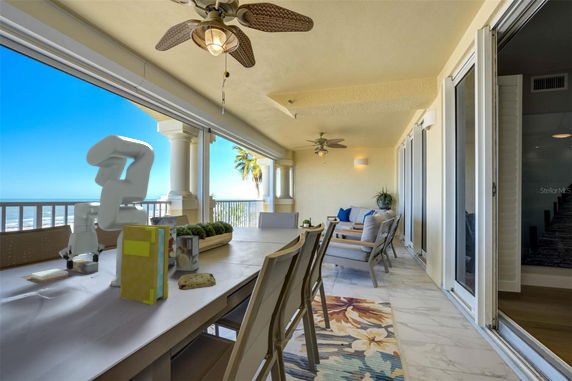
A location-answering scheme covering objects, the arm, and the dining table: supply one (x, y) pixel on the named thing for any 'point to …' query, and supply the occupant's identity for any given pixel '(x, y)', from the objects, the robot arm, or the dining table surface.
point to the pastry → (196, 281)
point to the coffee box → (187, 253)
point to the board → (45, 281)
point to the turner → (85, 266)
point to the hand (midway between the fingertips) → (83, 266)
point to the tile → (49, 275)
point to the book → (145, 262)
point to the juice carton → (170, 221)
